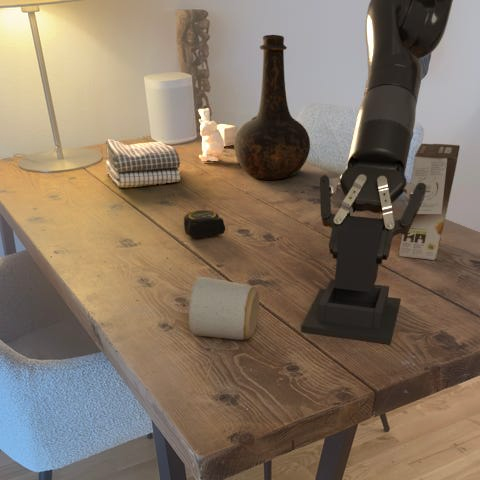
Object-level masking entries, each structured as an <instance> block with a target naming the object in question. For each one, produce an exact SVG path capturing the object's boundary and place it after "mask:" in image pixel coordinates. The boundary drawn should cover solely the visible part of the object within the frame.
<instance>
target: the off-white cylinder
mask: <svg viewBox="0 0 480 480" xmlns="http://www.w3.org/2000/svg"><path fill="white" fill-rule="evenodd" d="M189 297H190V298H189V303H188V325H189V329H190V332H191V334H192V335H194V336H200V337H201V336H202V337H208V338H209V337H210V338H218V339H228V340H236V341H242V340H243V341H244V340H245V341H246V340H249V339H251V337H253V335H254V334H255V331H256V328H257V324H258V319H259V313H260V293H259V291H258V290H257V288H256V287H254V286H251V285H248V284H247V283H241V282H233V281H230V280H229V281H228V280H224V279H223V280H222V279H217V278H211V277H206V276H199V277H198V278H197V279H196V280H195V282H194V284H193V286H192V289H191V293H190V296H189Z"/></svg>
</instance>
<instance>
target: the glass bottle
mask: <svg viewBox="0 0 480 480" xmlns="http://www.w3.org/2000/svg"><path fill="white" fill-rule="evenodd" d="M262 42H263V44H262V45H260V46H259V49H260V50H262V51H263V57H262V77H261V79H262V80H261V92H260V102H259V109H258V113H257V115H256V116H253V117H251V119H250V120H249V121H247V122H245V123H244V124H243V125H241V127H240V128H239V129H238V130H237V135H236V138H235V144H234V145H233V147H234V153H235V156H236V159H237V161H238V163H239V165H240V166H241V168H242V169H243V170H244V172H246V173H247V174H248V175H249V176H251V177H253V179H258V180H264V181H278V180H284V179H287V178H290V177H292V176H293V175H296V173H298V172H299V171H300V170H301V169H302V167H303V166H304V165H305V163H306V161H307V159H308V157H309V155H310V150H311V140H310V139H311V138H310V136H309V132H308V131H307V129H306V128H305V127H304V126H303V124H301V123H300V121H298V120H296V119H295V118H294V117H292V115H291V113H290V110H289V105H288V100H287V92H286V79H285V55H284V53H285V52H284V51H285V50H287V49H288V48H287V46H286V45H285V43H284V42H285V36H283V35H280V34H279V35H278V34H265V35H263V36H262Z"/></svg>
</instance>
